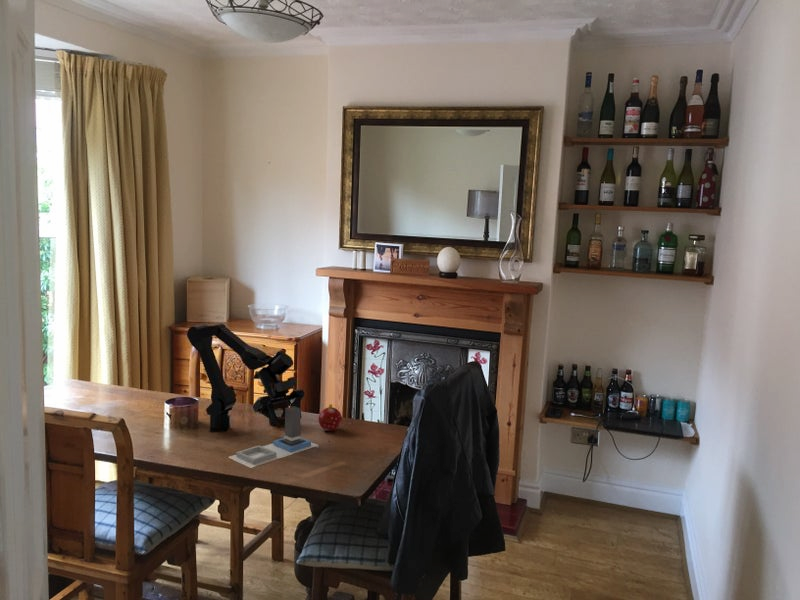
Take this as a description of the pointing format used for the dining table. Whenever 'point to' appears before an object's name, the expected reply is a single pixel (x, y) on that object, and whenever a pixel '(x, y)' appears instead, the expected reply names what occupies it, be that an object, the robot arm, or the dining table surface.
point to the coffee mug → (280, 413)
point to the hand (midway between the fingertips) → (289, 421)
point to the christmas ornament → (330, 418)
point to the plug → (292, 426)
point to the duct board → (269, 452)
